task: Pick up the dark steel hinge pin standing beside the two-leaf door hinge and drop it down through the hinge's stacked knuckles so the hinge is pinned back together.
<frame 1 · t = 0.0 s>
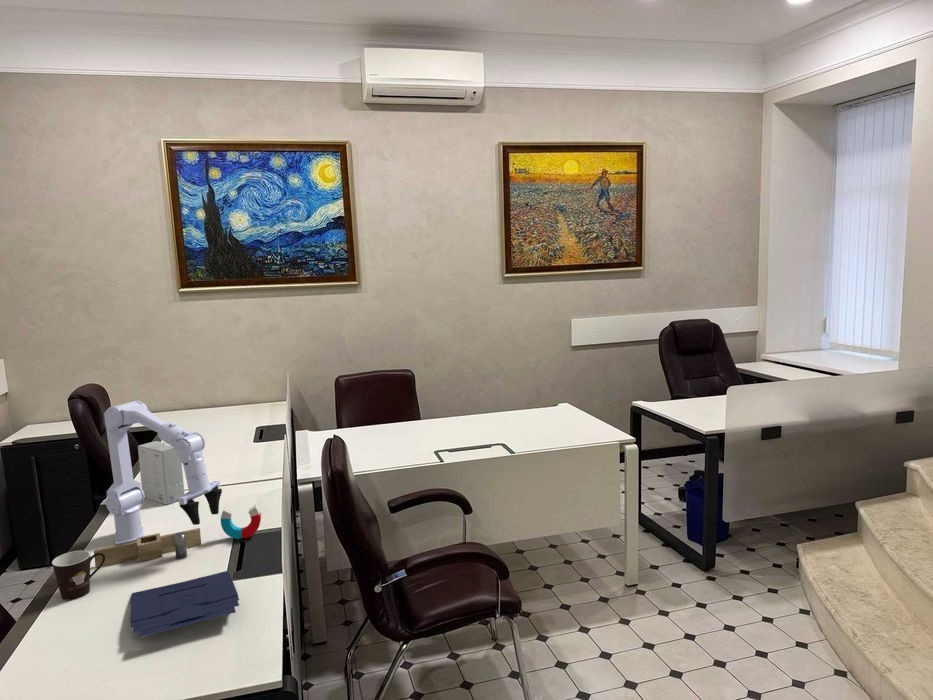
hand: (206, 519, 189), 11 cm above the table, fingers open, 7 cm apart
hinge pin: (181, 556, 188), on the table
magnet: (242, 538, 200), on the table
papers: (185, 610, 160), on the table
hinge: (150, 555, 189), on the table
hard drive box: (163, 498, 234), on the table
coffee mug: (82, 592, 169), on the table
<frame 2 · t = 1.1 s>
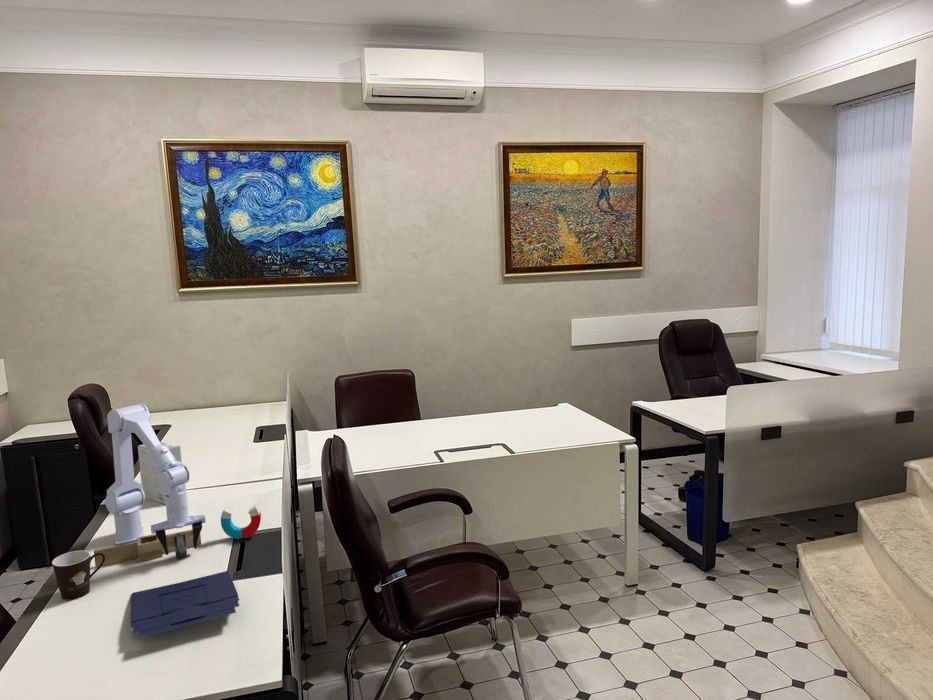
hand: (181, 550, 187), 2 cm above the table, fingers open, 7 cm apart
nothing on the table moved.
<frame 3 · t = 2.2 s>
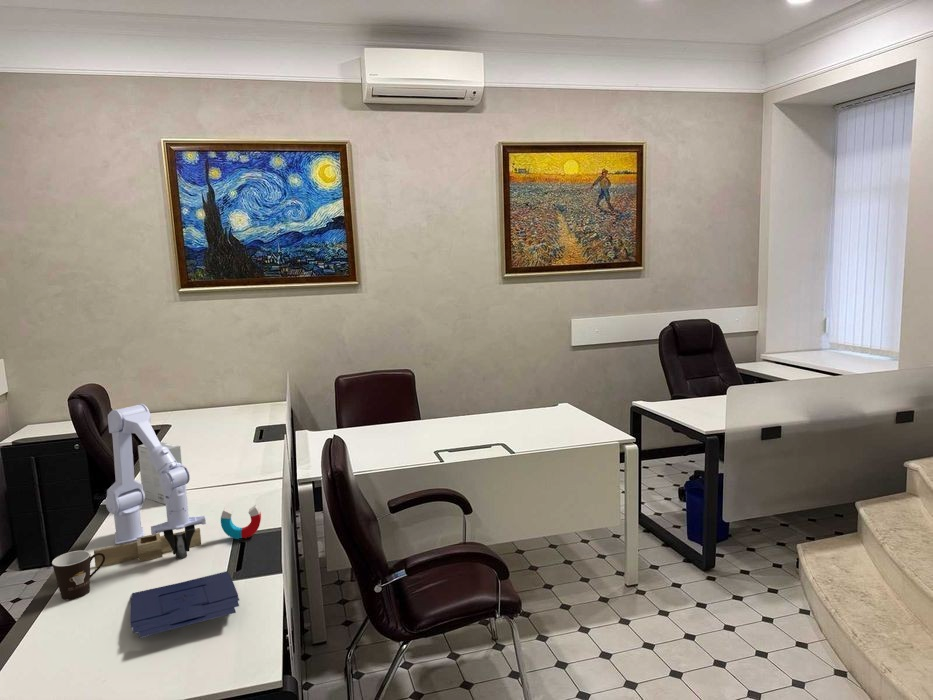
hand: (181, 551, 187), 2 cm above the table, fingers closed on hinge pin, 3 cm apart
hinge pin: (181, 556, 188), on the table, touching gripper
everything else where it was.
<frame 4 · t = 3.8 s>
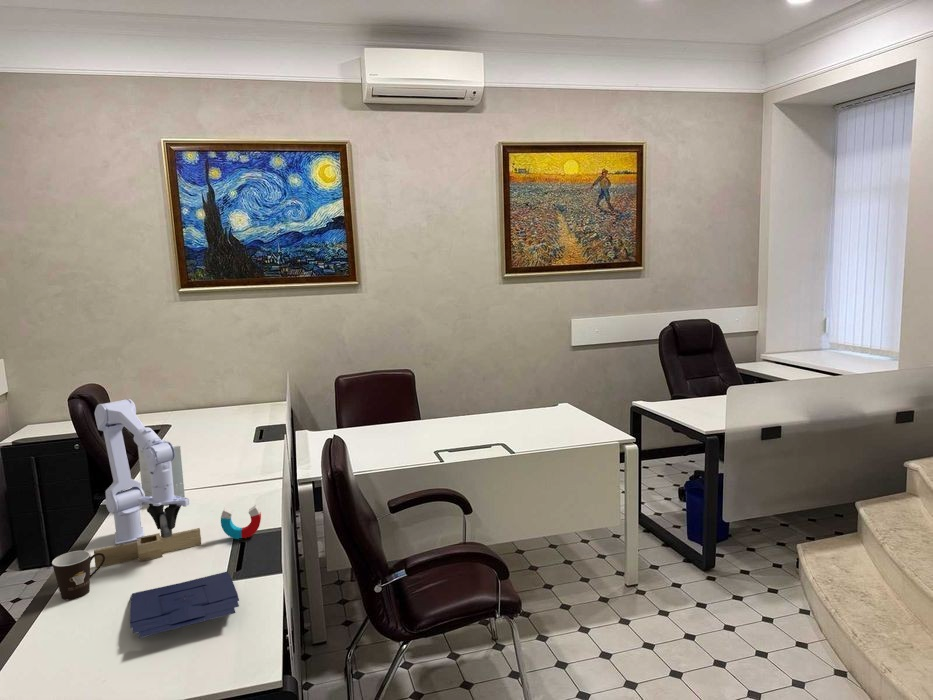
hand: (166, 528, 187), 9 cm above the table, fingers closed on hinge pin, 3 cm apart
hinge pin: (166, 535, 187), point 7 cm above the table, touching gripper
everything else where it was.
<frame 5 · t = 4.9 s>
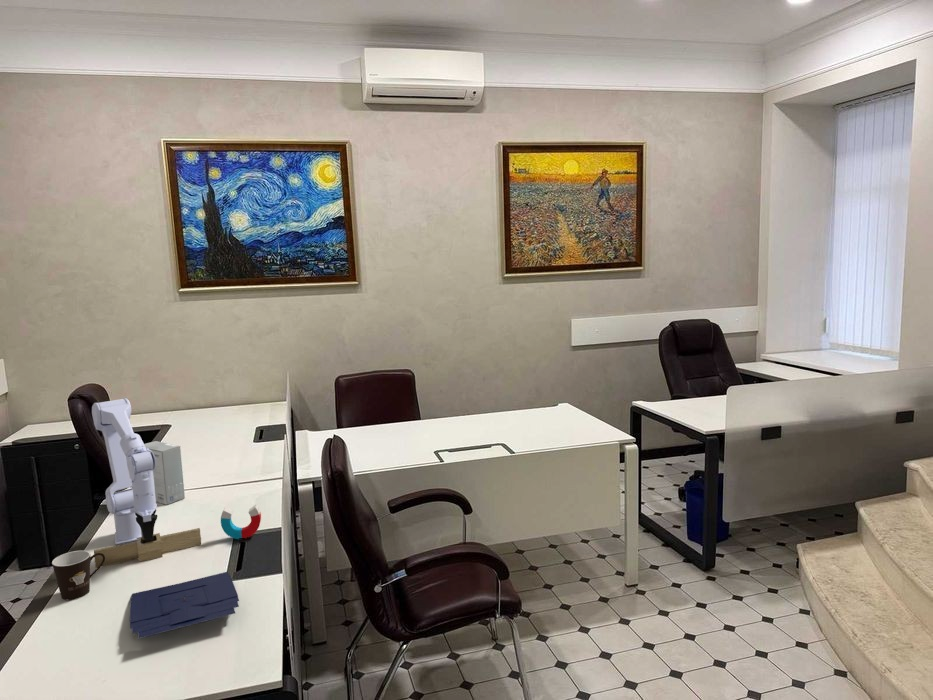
hand: (148, 536, 188), 6 cm above the table, fingers closed on hinge pin, 3 cm apart
hinge pin: (148, 543, 188), point 4 cm above the table, touching gripper
everything else where it was.
when the fingers open (6 cm above the table, at t = 5.5 s): hinge pin drops 4 cm, resting in hinge.
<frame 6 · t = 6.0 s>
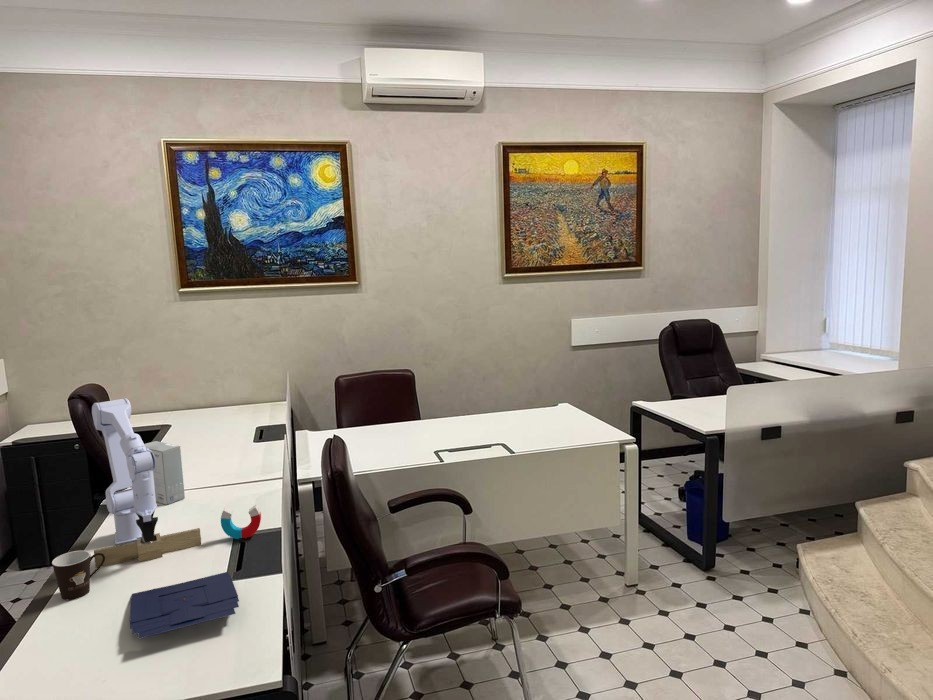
hand: (148, 536, 188), 6 cm above the table, fingers open, 7 cm apart
hinge pin: (149, 555, 189), resting in hinge
everything else where it was.
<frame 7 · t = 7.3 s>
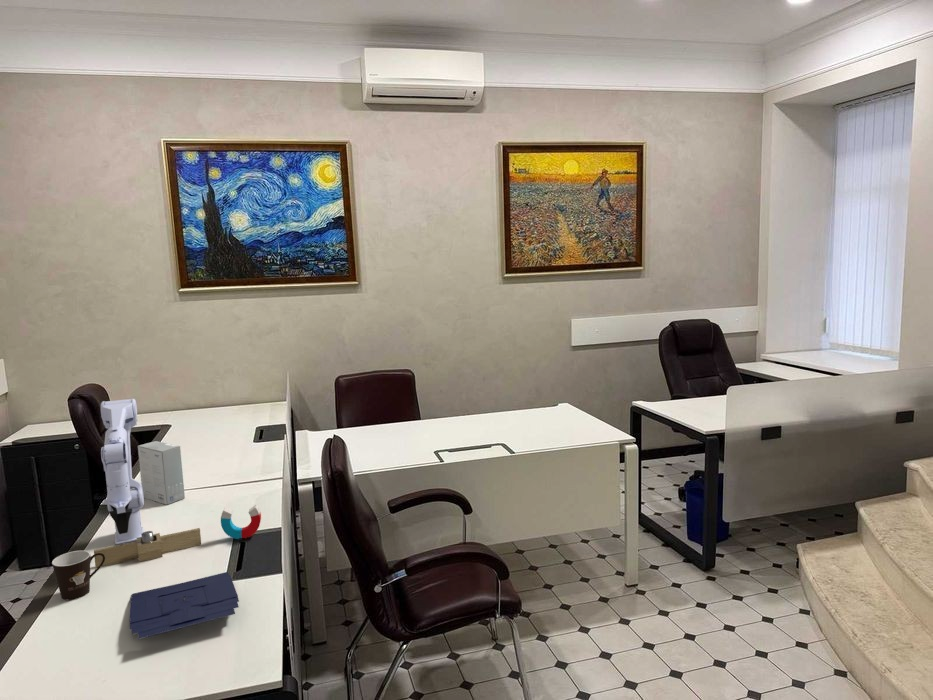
hand: (122, 528, 186), 9 cm above the table, fingers open, 7 cm apart
nothing on the table moved.
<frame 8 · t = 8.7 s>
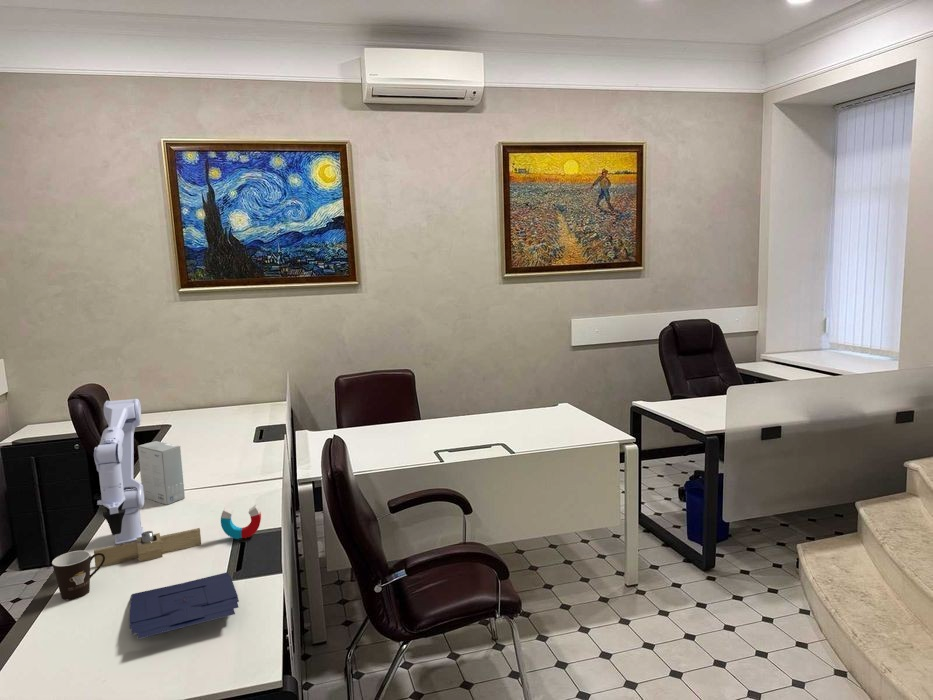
hand: (116, 528, 185), 9 cm above the table, fingers open, 7 cm apart
nothing on the table moved.
at the end: hinge pin 0.2 cm from the hinge (horizontally); hinge pin resting in hinge; hinge pin tilted 0° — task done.
